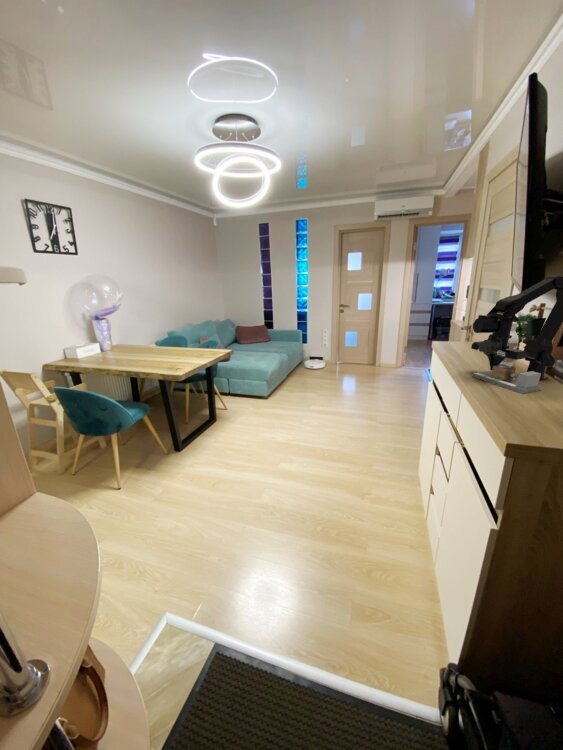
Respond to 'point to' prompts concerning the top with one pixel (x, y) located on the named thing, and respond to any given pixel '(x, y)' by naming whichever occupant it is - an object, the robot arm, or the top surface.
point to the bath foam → (511, 344)
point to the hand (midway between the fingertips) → (492, 370)
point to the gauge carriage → (503, 372)
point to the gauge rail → (514, 381)
